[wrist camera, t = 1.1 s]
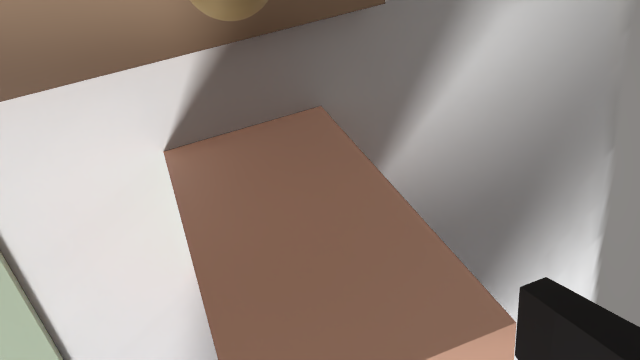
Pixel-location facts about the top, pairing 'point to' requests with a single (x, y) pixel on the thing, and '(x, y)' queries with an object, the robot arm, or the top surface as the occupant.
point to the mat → (21, 323)
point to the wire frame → (132, 34)
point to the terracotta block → (322, 253)
